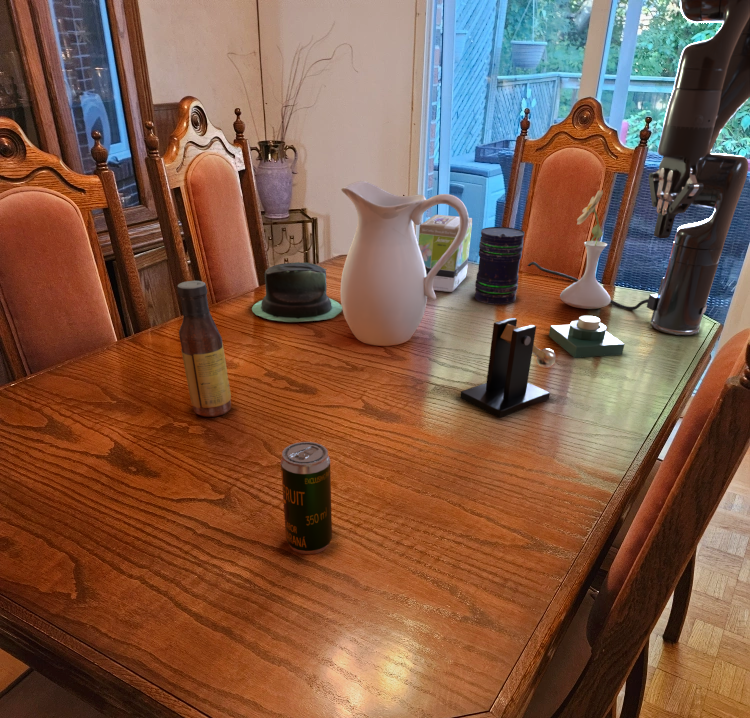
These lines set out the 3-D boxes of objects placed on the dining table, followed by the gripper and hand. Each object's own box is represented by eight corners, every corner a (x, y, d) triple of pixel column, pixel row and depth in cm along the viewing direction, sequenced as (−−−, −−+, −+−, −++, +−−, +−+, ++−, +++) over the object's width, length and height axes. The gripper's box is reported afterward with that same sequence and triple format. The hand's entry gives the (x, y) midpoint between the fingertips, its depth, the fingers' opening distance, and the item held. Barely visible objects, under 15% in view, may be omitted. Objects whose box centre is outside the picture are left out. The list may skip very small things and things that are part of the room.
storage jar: (474, 290, 162) (481, 225, 154) (515, 293, 161) (524, 227, 153) (473, 303, 154) (480, 235, 145) (516, 305, 153) (526, 237, 144)
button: (573, 324, 132) (575, 316, 131) (592, 323, 133) (594, 315, 132) (583, 331, 129) (584, 322, 128) (602, 330, 130) (603, 321, 129)
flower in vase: (569, 295, 161) (590, 181, 147) (616, 304, 155) (642, 187, 141) (547, 308, 152) (567, 189, 138) (596, 318, 146) (621, 195, 132)
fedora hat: (327, 287, 159) (360, 315, 144) (264, 331, 159) (290, 364, 144) (296, 231, 149) (328, 255, 134) (228, 279, 148) (253, 308, 134)
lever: (538, 366, 116) (547, 349, 115) (553, 372, 114) (562, 355, 113) (496, 338, 105) (506, 320, 105) (511, 344, 103) (521, 325, 103)
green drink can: (309, 522, 81) (305, 435, 74) (341, 540, 78) (340, 451, 71) (276, 543, 78) (269, 453, 71) (309, 562, 75) (304, 471, 68)
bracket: (509, 381, 117) (519, 309, 110) (549, 399, 111) (562, 325, 104) (459, 398, 111) (467, 323, 104) (499, 418, 105) (509, 340, 98)
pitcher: (327, 343, 131) (323, 189, 115) (360, 318, 144) (361, 176, 128) (443, 363, 123) (456, 202, 108) (467, 334, 136) (482, 186, 121)
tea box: (454, 293, 160) (459, 228, 152) (414, 288, 162) (417, 224, 154) (467, 277, 172) (473, 216, 164) (429, 273, 174) (433, 212, 166)
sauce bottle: (239, 405, 107) (226, 280, 96) (219, 421, 103) (203, 292, 91) (203, 398, 109) (186, 275, 98) (182, 414, 104) (162, 287, 93)
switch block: (548, 336, 137) (551, 316, 134) (593, 333, 139) (597, 314, 136) (574, 358, 127) (578, 337, 125) (622, 354, 129) (627, 334, 127)
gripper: (736, 126, 101) (703, 245, 111) (686, 119, 111) (660, 228, 121) (692, 126, 100) (662, 247, 109) (646, 119, 110) (622, 229, 120)
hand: (661, 237), depth 115 cm, fingers closed
